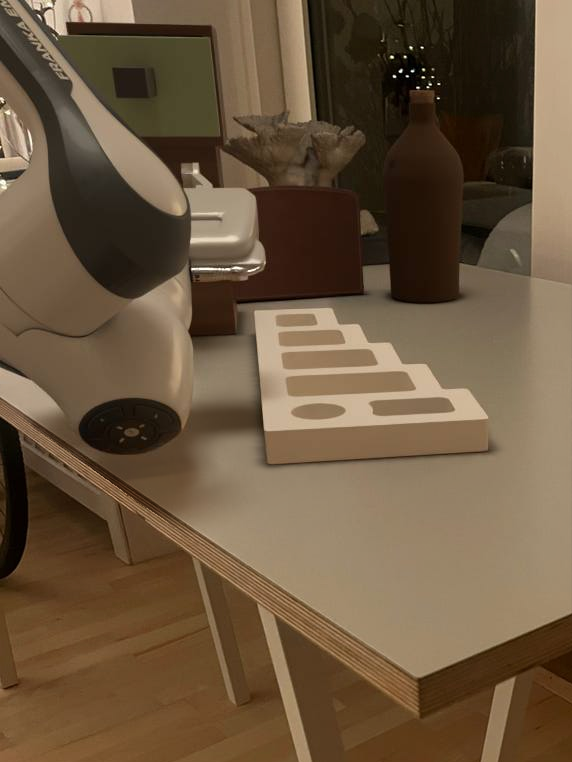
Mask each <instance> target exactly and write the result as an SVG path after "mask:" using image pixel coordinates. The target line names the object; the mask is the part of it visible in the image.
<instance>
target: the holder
mask: <svg viewBox="0 0 572 762" xmlns="http://www.w3.org/2000/svg"><path fill="white" fill-rule="evenodd" d="M253 314H254V322H255V323H254V325H255V338H256V349H257V362H258V373H259V385H260V397H261V409H262V420H263V421H262V422H263V432H264V443H265V451H266V452H265V453H266V462H267V464H268V465H281V464H296V463H314V462H329V461H330V462H331V461H346V460H361V459H378V458H393V457H396V458H397V457H411V456H412V457H413V456H426V455H427V456H428V455H443V454H444V455H445V454H460V453H475V452H486V451H488V450H489V416H488V415H487V413H486V412H485V410H484V409H483V408H482V406H481V404H479V402H478V400H477V399H476V398H475V396H474V395H473V393H472V392H471V391H470V390H469V388H443V387H442V386H441V385H440V383H439V382H438V380H437V378H436V377H435V376H434V374H433V372H432V371H431V369H430V368H429V366H428V365H427V364H426V363H413V364H411V363H409V364H407V363H406V364H405V363H403V362H402V360H401V359H400V357H399V355H398V354H397V352H396V351H395V348H394V347H393V345H392V343H391V342H369V341H368V339H367V337H366V335H365V333H364V331H363V329H362V327H361V325H360V324H358V323H353V324H352V323H351V324H340V323H339V321H338V320H337V317H336V315H335V313H334V310H333V308H332V307H320V308H319V307H318V308H289V309H287V308H285V309H261V310H260V309H257V310H254V312H253Z"/></svg>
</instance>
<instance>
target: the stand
mask: <svg viewBox="0 0 572 762" xmlns="http://www.w3.org/2000/svg"><path fill="white" fill-rule="evenodd" d="M65 28H66V33H67V35H84V36H141V37H198V38H210V43H211V52H212V61H213V70H214V80H215V89H216V98H217V108H218V117H219V126H220V137H151V136H140V137H141V138H142V139H143V140H144V141H145V142H146V143H147V144H148V145H149V146H150V147H151V148H152V149H153V151H154V152H155V153H156V154H157V155H158V156H159V157H160V158H161V159H162V160H163V161H164V163H165V164H166V165H167V166H168V167H169V169H170V170H171V171H172V172H173V174H174V175H175V176H176V178H177V179H178V181H179V182H180V184H181V185H182V187H183V181H182V175H181V163H199V170H200V174H201V175H202V176H203V177H204V178H206V179H207V180H208V181H209V182H210V183H211V184H212V186H213V188H225V182H224V174H223V165H222V163H223V162H222V156H221V155H222V153H221V149H220V146H225V143H226V140H227V138H228V131H227V121H226V112H225V101H224V100H225V99H224V92H223V84H222V83H223V81H222V74H221V62H220V55H219V53H220V52H219V43H218V35H217V29H216V28H215V27H214V26H213V25H212V24H205V23H204V24H203V23H162V22H161V23H159V22H158V23H157V22H156V23H153V22H109V21H107V22H106V21H105V22H104V21H103V22H102V21H65ZM183 188H184V187H183ZM191 297H192V318H191V323H190V327H189V329H188V332H189V335H190V337H192V336H193V337H195V336H197V337H199V336H224V335H225V336H227V335H228V336H229V335H237V330H238V315H239V314H238V313H239V312H238V304H237V303H238V302H236V292H235V283H234V281H232V280H226V279H225V280H219V281H216V280H215V281H209V282H192V283H191Z"/></svg>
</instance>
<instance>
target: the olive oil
mask: <svg viewBox="0 0 572 762" xmlns="http://www.w3.org/2000/svg"><path fill="white" fill-rule="evenodd" d="M408 94H409V95H408V96H409V102H408V120H409V122H408V125H407V127H406V128H405V129H404V130H403V132H402V134H400V136H398V138H397V140H396V141H395V142H394V143H393V144H392V146H391V147H390V149H389V150H388V152H387V154H386V156H385V159H384V163H383V168H382V185H383V186H382V188H383V199H384V200H383V201H384V210H385V211H384V212H385V225H386V236H387V237H386V238H387V239H388V252H389V263H388V265H389V283H390V296H391V297H392V298H393V299H395V300H397V301H401V302H408V303H415V304H417V303H418V304H433V303H444V302H449V301H454V300H456V299H457V298H458V297H459V294H460V268H461V267H460V265H461V263H460V262H461V239H462V219H463V217H462V216H463V200H464V199H463V197H464V179H465V178H464V175H465V174H464V168H463V164H462V161H461V157H460V155H459V153H458V152H457V150H456V149H455V148H454V146H453V145H452V143H450V141H449V140H448V139H447V138H446V136H445V134H443V132H442V131H441V130H440V129H439V127H438V126H437V122H436V102H435V90H427V89H425V90H422V89H421V90H419V89H416V90H415V89H413V90H412V89H410V90H409V92H408Z"/></svg>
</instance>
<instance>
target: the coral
mask: <svg viewBox="0 0 572 762" xmlns="http://www.w3.org/2000/svg"><path fill="white" fill-rule="evenodd" d="M290 114H291V111H290V110H289V109H286V110H285V109H284V110H283V111H282V112H280V113H278V114H275V115H272V116H271V115H266V114H264V115H260V114H259V115H256V114H251V115H243V116H235V115H234V116H232V120H233V121H234V122H236V123H237V124H238V125H240V126H241V127H243V128H244V129H246V130H247V131H250V132H252V133H254V134H256V136H255V135H252V136H249V137H248V136H243V135H242V134H241V133H240V134H238V135H236V136H235V137H231V138H230V137H227V140H226V143H225V146H220V151H222V152H223V153H225V154H228V155H229V156H232V157H233V158H235V159H236V160H238V161H239V162H241V163H242V164H244V165H245V166H246V167H248V168H251V169H253V171H255V172H256V173H258V174H259V175H260V176H262V177H263V178H264V179H265V180H266V182H267V184H268V186H284V185H298V186H322V187H332V188H333V186H332V185H333V184H332V183H333V180H334V179H335V177H336V176H337V175H338V174H339V173H340V172H341V171H342V170H344V169H345V167H346V166H347V165H348V164H349V163H350V162H351V161H352V159H353V158H354V156H355V155H356V154H357V153H358V152H359V150H360V149H361V148H362V147H363V146H364V145H365V144H366V135H365V134H364V133H363V132H362V131H361V130H360V129H357V130H356V131H355V126H354V125H349V126H346V127H345V128H344V129H342V128H341V127H340V126H338V125H333V124H331V123H329V122H327V121H325V120H319V121H318V120H316V119H309V120H308V121H304V122H302V121H297V122H287V120H288V118H289V116H290ZM354 131H355V132H354ZM351 134H352V135H351ZM360 221H361V247H362V264H363V266H366V265H369V266H370V265H384V264H389V252H388V238H387V237H386V236H383V235H382V234H379V230H380V228H379V226H378V224H377V222H376V220H375V218H374V216H373V215H372V214H371V213H370V211H369V210H368V209H360Z"/></svg>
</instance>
